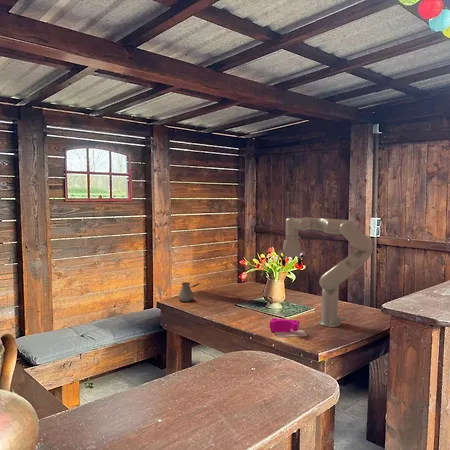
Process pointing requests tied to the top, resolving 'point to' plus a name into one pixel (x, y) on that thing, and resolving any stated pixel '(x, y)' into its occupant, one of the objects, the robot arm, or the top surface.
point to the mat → (291, 333)
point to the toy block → (283, 325)
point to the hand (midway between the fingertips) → (291, 265)
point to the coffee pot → (186, 292)
